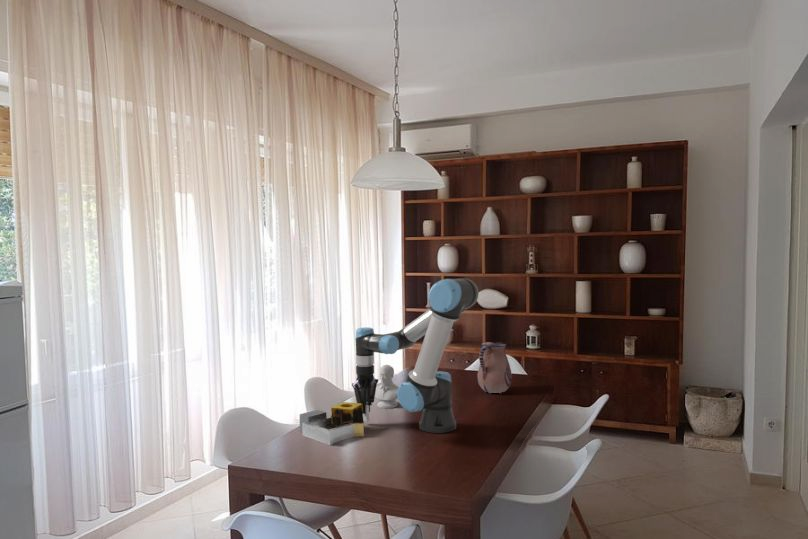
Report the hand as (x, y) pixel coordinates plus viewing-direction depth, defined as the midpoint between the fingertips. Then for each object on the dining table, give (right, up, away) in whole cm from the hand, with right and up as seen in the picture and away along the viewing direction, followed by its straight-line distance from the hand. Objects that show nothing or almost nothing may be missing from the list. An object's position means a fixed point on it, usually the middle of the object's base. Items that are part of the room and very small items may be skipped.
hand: (365, 420), depth 234 cm
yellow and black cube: (-7, -2, -7) cm, 10 cm away
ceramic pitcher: (+62, 0, +51) cm, 80 cm away
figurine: (+8, -1, +29) cm, 30 cm away
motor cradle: (-14, -2, -12) cm, 18 cm away
